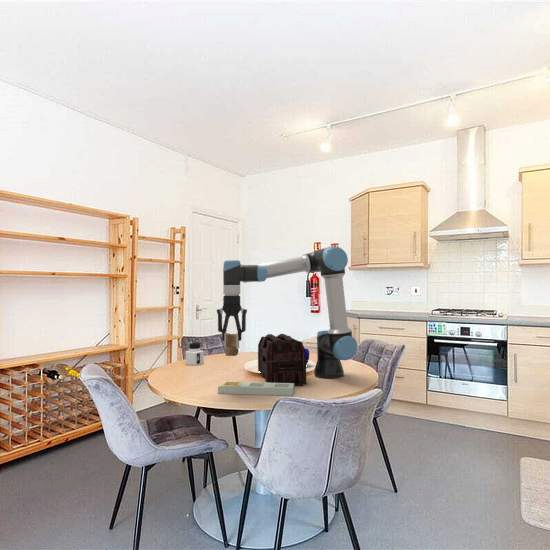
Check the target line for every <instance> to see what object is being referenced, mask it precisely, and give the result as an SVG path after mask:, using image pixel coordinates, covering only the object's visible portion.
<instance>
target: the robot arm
mask: <svg viewBox="0 0 550 550" xmlns="http://www.w3.org/2000/svg"><path fill="white" fill-rule="evenodd" d="M348 263H349V258H348V255H347V252H346V251H345V250H344V249H343V248H341V247H340V246H328V247H325V248H320V249H317V250H314V251H312V252H308V253H303V254H302V256H299V257H298V256H297V257H292V258H286V259H281V260H276V261H269V262H265V263H258V264H241V260H235V259H227V260H224V262H223V268H222V272H223V274H222V275H223V280H222V281H223V287H222V289H223V292H222V293H223V297H222V298H223V299H222V302H223V303H222V305H223V306H222V308H219V309H218V308H217V309H216V313H217V331H218V332H219V333H221V334H222V337H221V339H222V341H224V349H226V335H227V334H229V333H228V332H227V329H228V324H229V320H230V318H231V317H233V318H234V321H235V327H236V330H237V333H235V334H236V349H238V350H239V349H240V341H242V334H243V333H244V332H247V331H246V325H247V324H246V323H247V317H246V316H247V312H248V309H246V308H242V305H241V282H242V283H257V282H258V283H261V282H265V281H266V280H267V279H271V278H276V277H281V276H286V275H292V274H297V273H303V272H305V273H306V274H309V273H317V272H318V273H320V276H321V278H323V280H324V286H325V296H326V304H327V313H328V320H329V329H328V330H319V331H317V332H316V352H317V355H316V359H317V360H316V364H315V367H314V371H313V375H314V376H315V377H316V378H322V379H339V378H340V379H341V378H343V377H344V376H345V370H344V368H343V364H342V362H341V361H349V360H352V359H353V358H354V356H355V355H356V354H357V352H358V342H357V340H356V338H354V336H353V332H352V329H351V328H350V327H349V323H348V315H347V307H346V299H345V297H346V296H345V289H344V288H345V287H344V280H343V278H344V276H345V274H346V267H347V265H348ZM240 312H241V323H240V318H239V313H240ZM223 313H224V314H225V316H224V317H225V318H224V322H223Z"/></svg>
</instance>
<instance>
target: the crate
mask: <svg viewBox="0 0 550 550" xmlns="http://www.w3.org/2000/svg"><path fill="white" fill-rule="evenodd" d="M302 342H303V341H300V340H298V339H295V338H293V337H292V336H291V335H287V334H285V333H279V334H277V336H276V335H274V334H272V333H267V335H265V336H261V337H260V340H259V341H258V344H257V372H258V371H260V372H261V374H259V375H260V376H261V377H262V378H263V379H265V380H264V381H265V383H294V387H304V385H306V384H307V368H306V350H305V349H306V348H305V346H304V344H302Z"/></svg>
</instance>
